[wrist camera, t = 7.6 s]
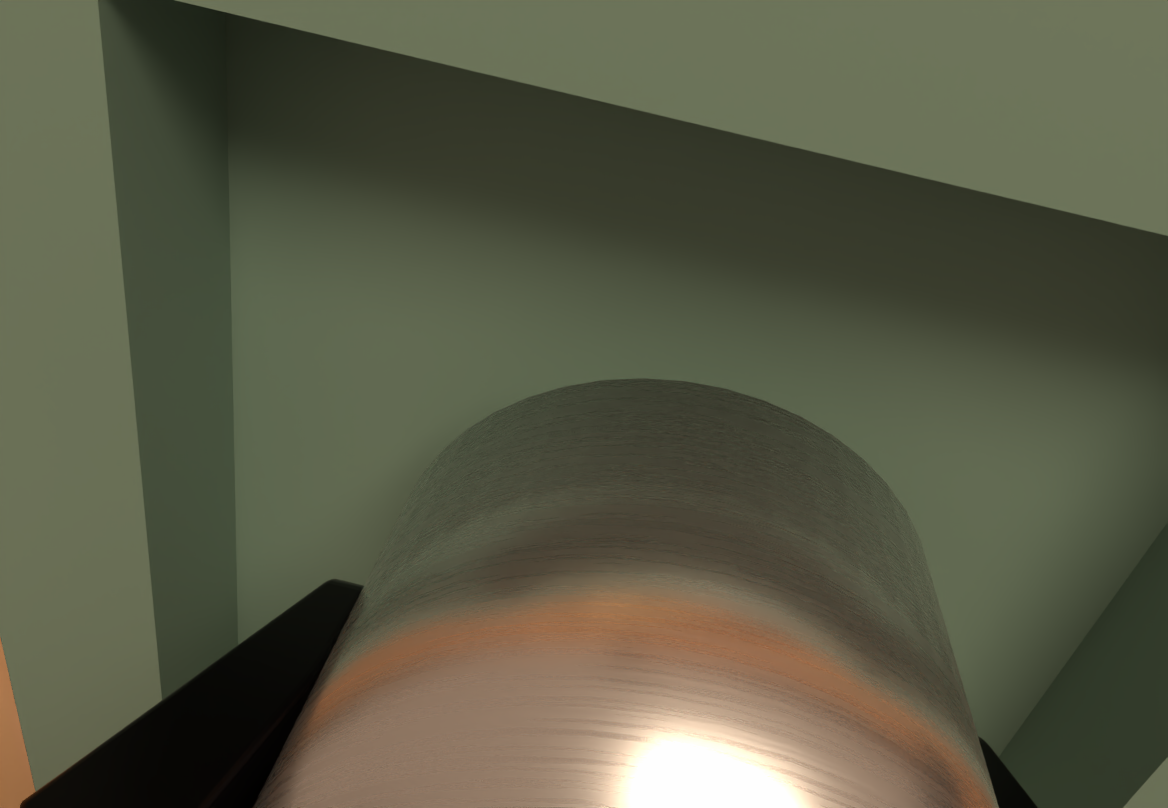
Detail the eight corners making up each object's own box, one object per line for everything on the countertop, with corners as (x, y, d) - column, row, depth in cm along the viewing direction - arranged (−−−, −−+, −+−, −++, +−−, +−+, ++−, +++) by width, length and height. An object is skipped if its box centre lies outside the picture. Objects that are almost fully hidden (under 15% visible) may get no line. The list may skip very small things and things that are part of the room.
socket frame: (1717, 44, 8) (2123, 117, 5) (972, 932, 16) (1014, 1109, 13) (31, -348, 8) (-245, -438, 6) (147, 730, 16) (54, 870, 14)
